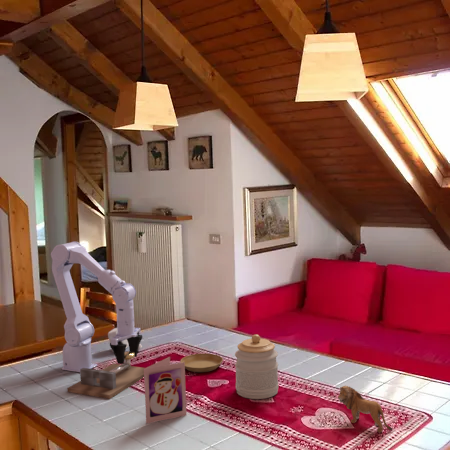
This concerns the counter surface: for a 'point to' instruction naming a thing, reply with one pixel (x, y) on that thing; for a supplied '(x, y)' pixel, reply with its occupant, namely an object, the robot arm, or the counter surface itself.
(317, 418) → the counter surface
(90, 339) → the robot arm
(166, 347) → the counter surface
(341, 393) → the lion figurine
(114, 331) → the wall hook
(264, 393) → the jar
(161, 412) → the greeting card
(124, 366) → the brass knob with shaft
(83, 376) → the wooden board
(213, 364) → the plant saucer
